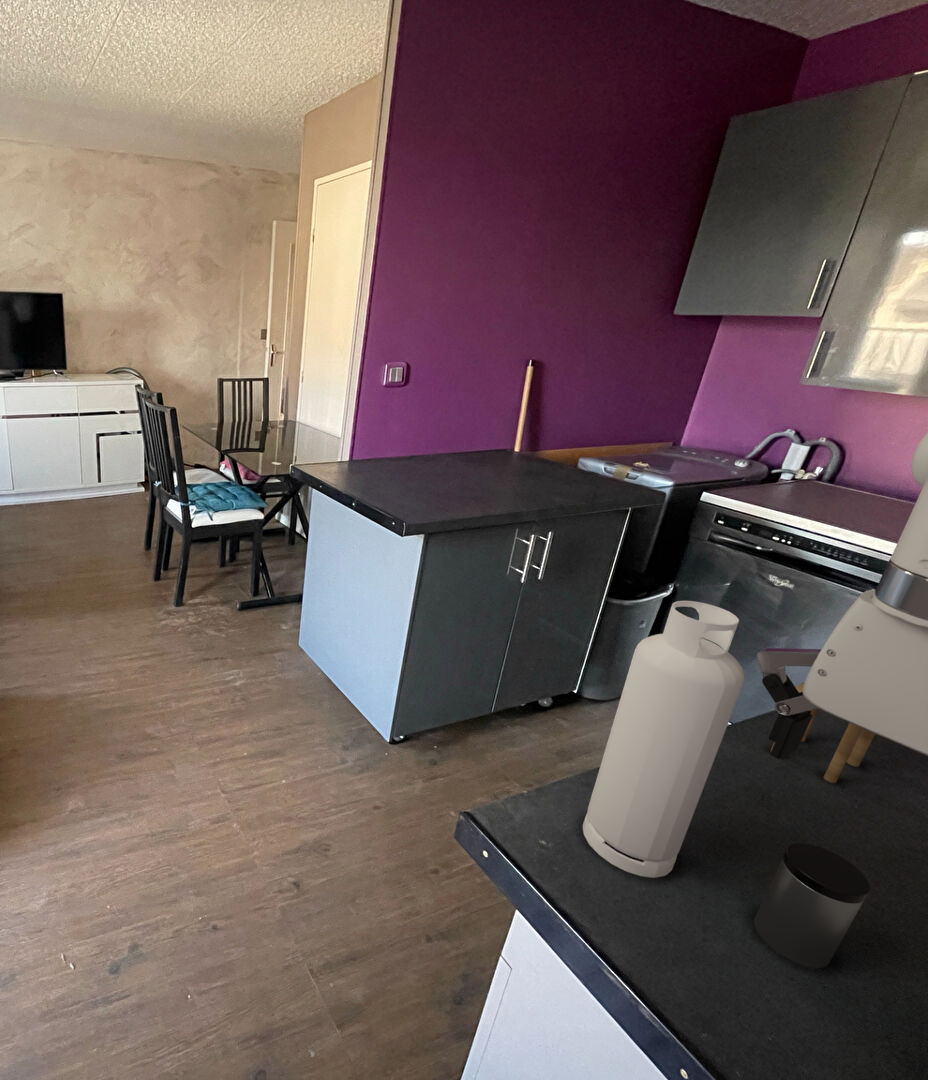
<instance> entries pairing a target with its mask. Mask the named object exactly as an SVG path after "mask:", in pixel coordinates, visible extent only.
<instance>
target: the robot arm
mask: <svg viewBox="0 0 928 1080" xmlns="http://www.w3.org/2000/svg"><path fill="white" fill-rule="evenodd" d="M916 445H917V446H916V447H915V449H914V452H913V455H912V458H911V463H910V465H911V475H912V476H913V479H914V481H915V482H916V483H917V485H919V487H921V491H920V493H919V494H918V497H917V500H916V501H915V504H914V506H913V508H912V511H911V513H910V515H909V517H908V520H907V522H906V524H905V525H904V528H903V530H902V532H901V534H900V537H899V539H898V540H897V543H896V546H895V548H894V550H893V552H892V554H891V557H890V559H889V560H888V562H887V564H886V566H885V568H884V571H883V573H882V575H881V577H880V579H879V582H878V584H877V586H876V588H875V589H869V590H865V591H864V592H862V593H861V594H860V595H859V596H858V597H857V598H856V599H855V600H854V602H853V603H852V604H851V606H850V607H848V609H847V610H846V612H845V613H844V614H843V615H842V617H841V618H840V620H839V621H838V622H837V624H836V626H835V627H834V629H833V630H832V632H831V634H830V635H829V637H828V638H827V640H826V641H825V643H824V644H823V646H822V648H788V647H786V648H785V647H783V648H782V647H768V648H767V647H766V648H765V649H762V650H760V651H758V652H757V654H756V659H757V662H758V666H759V669H760V673H761V674H762V680H761V683H762V685H763V686H764V687H765V689H766V691H767V693H768V694H769V695H770V697H771V698H772V701H774V703H775V704H774V709H775V711H776V712H777V713H778V715H777V717H776V719H775V722H774V723H773V726H772V728H771V730H770V733H769V735H768V740H769V741H772V742H773V744H774V742H775V744H774V746H773V745H772V746H773V748H772V747H771V748H772V751H771V750H770V756H772V757H774V758H776V759H781V760H782V759H784V758H786V757H788V756H789V755H791V754H792V753H794V752H796V751H797V750H798V749H799V747H800V745H801V742H802V741H801V740H802V738H803V736H804V734H805V732H806V729H807V727H808V725H809V723H810V721H811V718H812V716H813V715H811V711H810V710H814V709H819V710H820V711H823V712H825V713H827V714H829V715H831V716H834V717H836V718H838V719H841V720H842V721H844V722H847V723H849V722H850V723H852V724H854V725H856V726H859V727H861V728H863V729H866V730H868V731H870V732H873V733H875V735H877V736H880V737H882V738H884V739H887V740H888V741H892V742H893V743H896V744H898V745H901V746H902V747H905V748H908V749H910V750H913V751H915V752H916V753H920V754H922V755H924V756H927V757H928V431H927V432H926V433H925V434H924V435H923V436H922V438H921V439H920V441H919V443H918V444H916ZM787 666H788V667H808V668H809V667H810V669H809V671H808V674H807V675H806V678H805V680H804V682H805V683H804V686H803V692H798V690H797V689H796V686H795V684H794V683H793V682H792V680H791V679H790V677H789V676H788V675H787V673H786V667H787Z"/></svg>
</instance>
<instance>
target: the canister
mask: <svg viewBox="0 0 928 1080" xmlns="http://www.w3.org/2000/svg"><path fill="white" fill-rule="evenodd" d="M871 890H872V886H871V882H870V881H869V879H868V877H867V876H866V875H865V874H864V873H863V871H861V870H860V869H859V868H858V867H857V866H855V865H854V864H853V863H852V862H850V861H849V860H847V859H846V858H844V857H843V856H841V855H839V854H837V853H836V852H833V851H832V850H828V849H826V848H823V847H821V846H818V845H815V844H810V843H806V842H794V843H792V844H789V845H788V846H787V847H786V849H785V851H784V853H783V855H782V860H781V861H780V864H779V866H778V868H777V870H776V872H775V874H774V876H773V878H772V880H771V883H770V885H769V887H768V889H767V891H766V893H765V895H764V897H763V900H762V902H761V904H760V905H759V908H758V910H757V913H756V915H755V917H754V918H753V924H754V928H755V930H756V932H757V933H758V935H759V936H760V938H761V939H762V940H763V941H764V942H765V943H766V944H767V945H768V946H769V947H771V948H772V949H773V950H774V951H776V952H777V953H778V954H780V956H783V957H785V958H786V959H789V961H792V962H794V963H796V964H799V965H801V966H804V967H808V968H813V969H823V968H826V967H827V966H829V964H830V963H831V960H832V958H833V957H834V956H835V953H836V952H837V950H838V948H839V947H840V944H841V943H842V941H843V940H844V937H845V936H846V934H847V932H848V931H849V929H850V926H851V925H852V923H853V922H854V920H855V917H856V916H857V914H858V912H859V910H860V909H861V907H862V905H863V904H864V902H865V901H866V900H867V898H868V897H869V894H870V893H871Z"/></svg>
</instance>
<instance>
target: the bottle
mask: <svg viewBox="0 0 928 1080" xmlns="http://www.w3.org/2000/svg"><path fill="white" fill-rule="evenodd" d="M682 607H684V608H685V607H687V608H692V609H695V610H696V612H697V613H698V619H696V618H692V617H689V616H687V615H685V614H683V613H681V612H680V611H678V610H677V609H676V608H682ZM739 623H740V619H739V618H738V616H737V615H736V614H734V613H733V612H731V611H729V610H727V609H724V608H722V607H719V606H716V605H714V604H710V603H706V602H702V601H701V602H700V601H694V600H677V601H675V602H672V604H671V607H670V609H669V613H668V617H667V620H666V623H665V626H664V629H663V632H662V633H657V634H653V635H649V636H648V637H647V636H646V637H645V638H643V639H642V640H641V641H640V642H638V644H637V645H636V647H635V649H634V651H633V655H632V658H631V662H630V665H629V669H628V673H627V675H626V679H625V682H624V686H623V689H622V691H621V694H620V695H621V696H620V699H619V701H618V705H617V709H616V712H615V716H614V719H613V722H612V726H611V729H610V733H609V735H608V739H607V743H606V746H605V749H604V752H603V757H602V759H601V763H600V766H599V770H598V773H597V776H596V780H595V783H594V787H593V789H592V793H591V796H590V800H589V803H588V807H587V812H586V814H585V817H584V820H583V824H582V832H583V836H584V838H585V839H586V841H587V843H588V845H589V846H590V847H591V848H592V849H593V850H594V852H596V853H597V854H598V855H599V856H600V857H601V858H603V859H604V860H605V861H607V862H608V863H610V864H611V865H613V866H614V867H617V868H618V869H621V870H622V871H625V872H627V873H629V874H632V875H636V876H640V877H645V878H660V877H665V876H667V875H669V874H670V873H671V872H672V871H673V868H674V867H675V863H676V860H677V858H678V854H679V853H680V850H681V847H682V845H683V842H684V840H685V837H686V835H687V832H688V830H689V827H690V825H691V822H692V819H693V816H694V814H695V811H696V809H697V806H698V804H699V800H700V798H701V795H702V794H703V791H704V787H705V785H706V783H707V780H708V777H709V775H710V772H711V769H712V767H713V764H714V762H715V760H716V759H715V758H716V756H717V754H718V752H719V749H720V746H721V743H722V741H723V739H724V736H725V733H726V730H727V727H728V725H729V723H730V719H731V717H732V715H733V712H734V710H735V707H736V704H737V701H738V699H739V697H740V694H741V691H742V689H743V686H744V683H745V679H746V677H745V676H746V675H745V671H744V668H743V666H742V665H741V663H740V662H739V661H738V659H736V658H735V656H733V654H731V653H730V652H729V650H730V647H731V645H732V641H733V638H734V635H735V633H736V630H737V628H738V625H739ZM606 843H607V844H606ZM612 847H613V848H612ZM620 852H621V853H620ZM624 854H625V855H624ZM626 855H627V856H626ZM628 856H629V857H628ZM630 857H631V858H630ZM633 858H635V859H633ZM637 859H638V860H637ZM640 860H641V861H640Z"/></svg>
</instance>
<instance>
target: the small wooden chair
mask: <svg viewBox="0 0 928 1080" xmlns="http://www.w3.org/2000/svg"><path fill="white" fill-rule="evenodd" d="M804 683H805V681H802V682H801V683H799V684H798V685H796V686H795V687H796V689H797V690H798V692H803V686H804ZM810 711H811V715H813V716H812V718H811V721H810V723H809V725H808V727H807V729H806V732H805V734H804V736H803V738H802V740H801V742H805V741H806V740H807V738H808V736H809V733H810V731H811V729H812V726H813V724H814V722H815V720H816V718H817V715H818V713H819V711H820V709H814V710H810ZM875 735H876V734H875V733H873V732H870V731H868V730H866V729H863V728H861V727H859V726H856V725H854V724H852V723H850V722H848V724H847V727H846V729H845V731H844V733H843V735H842V738H841V739H840V742H839V744H838V745H837V748H836V750H835V752H834V754H833V756H832V759H831V760H830V763H829V765H828V767H827V769H826V771H825V773H824V775H823V779H824V780H825V781H827V782H828V783H831V784H836V783H837V782H838V780H839V778H840V776H841V774H842V771H843V769H844V767H845V766H846V763H847V764H848V765H850V766H852V767H856V768H859V767H860V765H861V763H862V761H863V759H864V757H865V756H866V753H867V751H868V749H869V747H870V745H871V744H872V741H873V739H874V738H875ZM774 744H775V742H774V741H773V744H772V745H771V749H770V752H771V751H772V748H773V746H774Z"/></svg>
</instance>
